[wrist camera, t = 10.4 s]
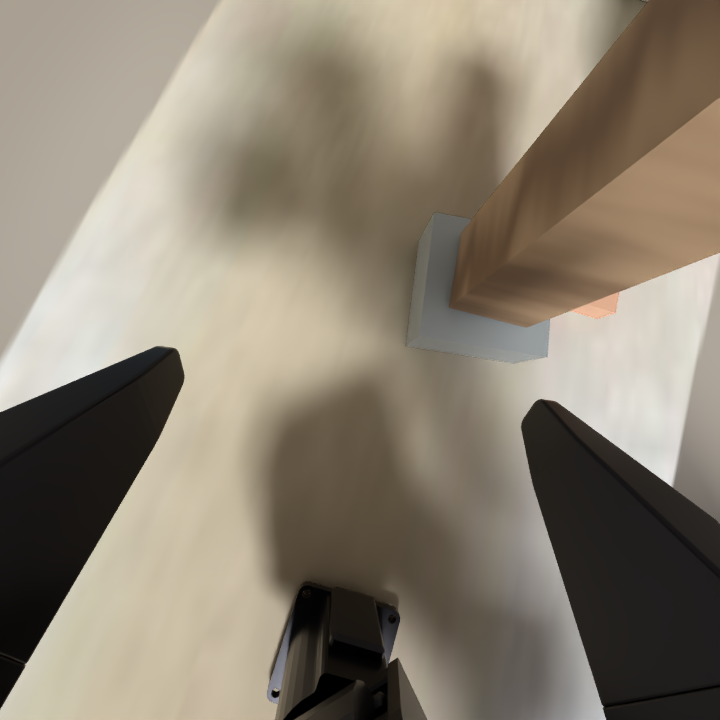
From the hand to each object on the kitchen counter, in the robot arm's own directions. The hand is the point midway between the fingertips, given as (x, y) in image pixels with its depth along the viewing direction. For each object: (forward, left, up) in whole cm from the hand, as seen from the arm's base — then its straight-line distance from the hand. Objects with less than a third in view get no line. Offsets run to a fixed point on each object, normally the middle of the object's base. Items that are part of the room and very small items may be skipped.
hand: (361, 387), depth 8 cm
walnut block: (+9, -6, -10) cm, 15 cm away
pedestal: (+9, -6, -14) cm, 18 cm away
